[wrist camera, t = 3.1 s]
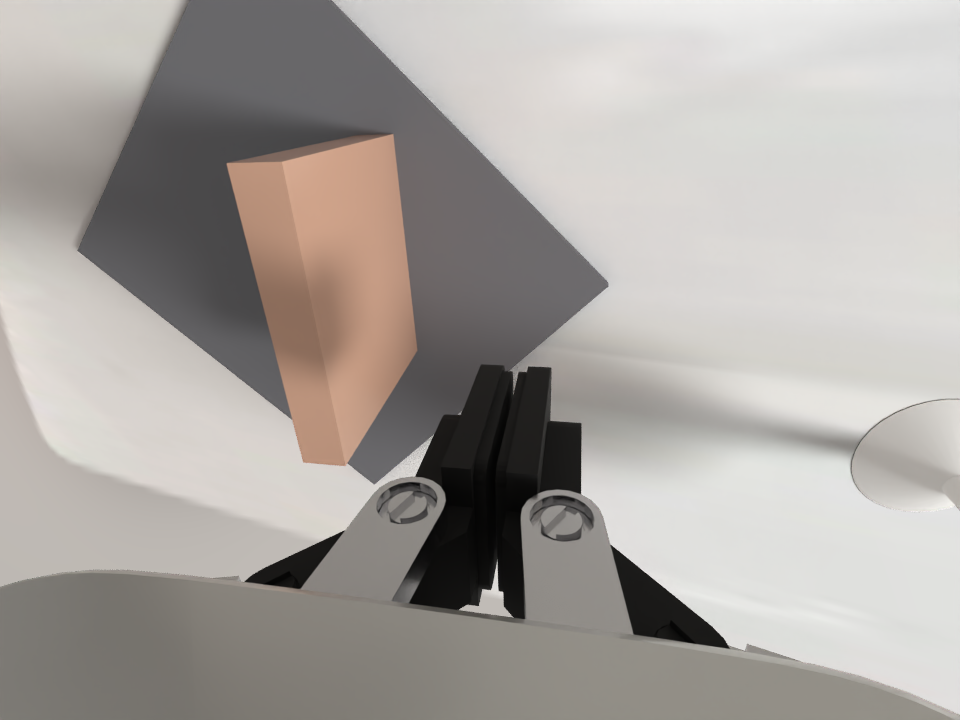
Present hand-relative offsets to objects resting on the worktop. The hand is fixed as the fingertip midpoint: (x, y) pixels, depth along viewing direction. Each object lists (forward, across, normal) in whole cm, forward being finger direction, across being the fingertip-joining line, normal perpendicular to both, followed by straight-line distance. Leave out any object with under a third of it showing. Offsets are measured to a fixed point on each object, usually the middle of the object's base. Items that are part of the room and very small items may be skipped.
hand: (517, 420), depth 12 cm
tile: (+12, +7, -1) cm, 14 cm away
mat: (+12, +11, 0) cm, 16 cm away
